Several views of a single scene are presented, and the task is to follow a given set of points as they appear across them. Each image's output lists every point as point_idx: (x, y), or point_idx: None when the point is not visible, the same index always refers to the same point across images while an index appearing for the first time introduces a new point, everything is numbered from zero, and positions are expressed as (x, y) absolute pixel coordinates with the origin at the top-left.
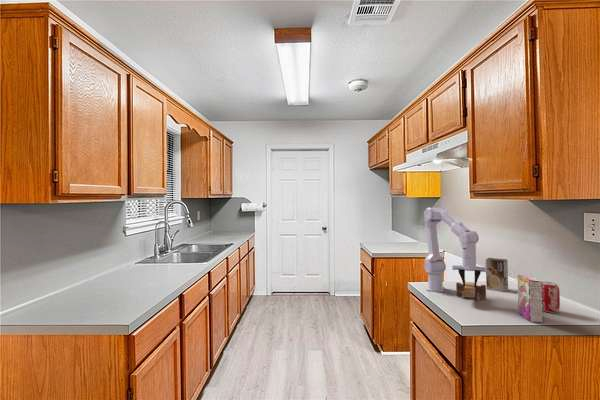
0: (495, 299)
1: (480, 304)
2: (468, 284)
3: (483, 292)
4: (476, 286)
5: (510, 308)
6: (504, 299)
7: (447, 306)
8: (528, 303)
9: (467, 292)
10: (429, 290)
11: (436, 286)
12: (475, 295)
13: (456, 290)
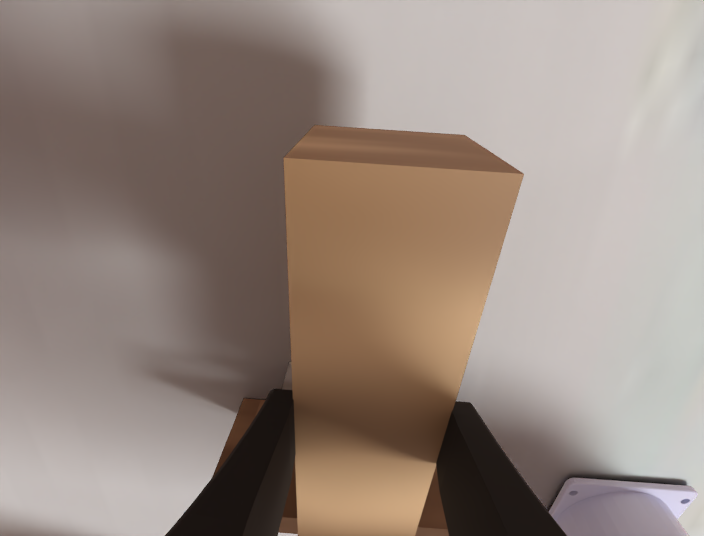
0: (180, 414)
1: (273, 243)
2: (386, 477)
3: None
4: (294, 512)
5: (3, 204)
6: (124, 429)
7: (667, 3)
8: None
9: (424, 148)
10: (672, 485)
11: (638, 528)
12: None
13: None
